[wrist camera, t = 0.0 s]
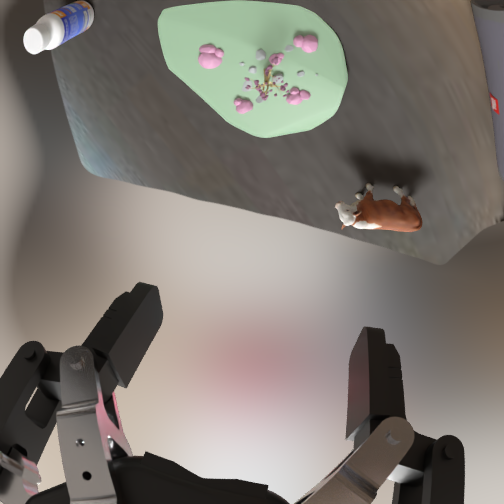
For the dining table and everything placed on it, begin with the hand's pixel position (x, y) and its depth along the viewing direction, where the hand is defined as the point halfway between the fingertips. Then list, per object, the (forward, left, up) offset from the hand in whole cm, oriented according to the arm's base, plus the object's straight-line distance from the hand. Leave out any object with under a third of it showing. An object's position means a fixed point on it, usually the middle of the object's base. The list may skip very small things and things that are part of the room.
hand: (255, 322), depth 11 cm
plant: (-4, -8, -32) cm, 33 cm away
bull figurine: (+23, -4, -32) cm, 39 cm away
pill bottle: (-27, -19, -32) cm, 45 cm away
